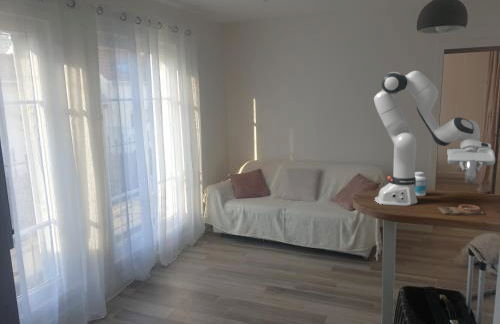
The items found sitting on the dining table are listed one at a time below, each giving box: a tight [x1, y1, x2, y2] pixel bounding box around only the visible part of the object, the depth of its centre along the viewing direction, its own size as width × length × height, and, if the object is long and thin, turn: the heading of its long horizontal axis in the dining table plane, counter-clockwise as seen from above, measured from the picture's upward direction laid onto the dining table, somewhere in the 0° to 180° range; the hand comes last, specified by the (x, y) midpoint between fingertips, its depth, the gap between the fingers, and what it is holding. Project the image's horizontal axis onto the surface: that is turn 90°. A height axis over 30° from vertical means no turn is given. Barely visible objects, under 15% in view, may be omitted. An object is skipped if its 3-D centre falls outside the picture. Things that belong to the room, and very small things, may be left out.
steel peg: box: [464, 160, 477, 184], centre depth 179 cm, size 4×4×11 cm
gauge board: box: [437, 204, 485, 216], centre depth 183 cm, size 18×10×2 cm, turn 81°
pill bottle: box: [415, 171, 427, 197], centre depth 217 cm, size 8×7×14 cm
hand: (470, 170), depth 179 cm, fingers closed on steel peg, 4 cm apart
